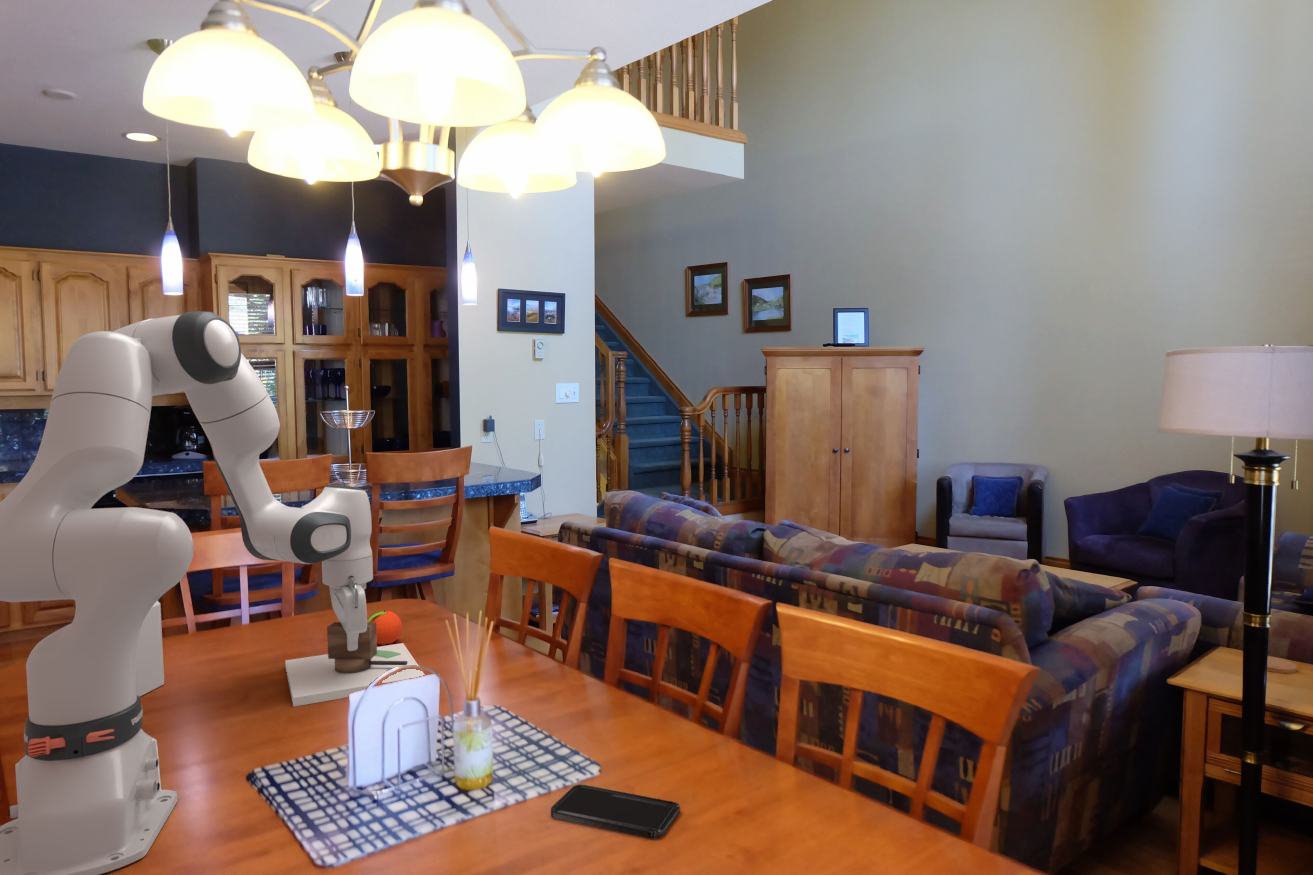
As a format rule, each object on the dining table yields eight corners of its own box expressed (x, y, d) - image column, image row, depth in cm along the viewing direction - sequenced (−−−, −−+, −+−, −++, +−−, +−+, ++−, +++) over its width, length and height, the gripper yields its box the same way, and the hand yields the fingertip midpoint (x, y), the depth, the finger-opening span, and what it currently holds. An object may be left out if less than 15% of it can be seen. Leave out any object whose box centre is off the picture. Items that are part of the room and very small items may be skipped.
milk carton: (164, 684, 152) (159, 581, 151) (136, 699, 145) (131, 591, 143) (128, 683, 152) (123, 581, 151) (98, 698, 145) (93, 590, 144)
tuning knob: (400, 673, 151) (398, 629, 151) (324, 672, 152) (322, 629, 152) (412, 661, 157) (411, 620, 157) (339, 660, 158) (338, 619, 158)
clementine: (375, 652, 169) (374, 618, 168) (356, 646, 173) (355, 612, 172) (409, 643, 175) (408, 609, 174) (390, 637, 179) (389, 604, 179)
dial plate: (425, 683, 150) (425, 674, 150) (293, 706, 140) (292, 696, 140) (403, 650, 170) (403, 642, 170) (285, 667, 160) (285, 659, 160)
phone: (659, 834, 98) (547, 810, 103) (659, 843, 98) (547, 819, 103) (682, 802, 105) (576, 782, 111) (682, 811, 105) (577, 790, 111)
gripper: (374, 581, 146) (377, 658, 147) (357, 560, 164) (359, 629, 165) (336, 585, 143) (339, 664, 144) (323, 563, 161) (325, 633, 162)
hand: (349, 645), depth 155 cm, fingers closed on tuning knob, 4 cm apart
